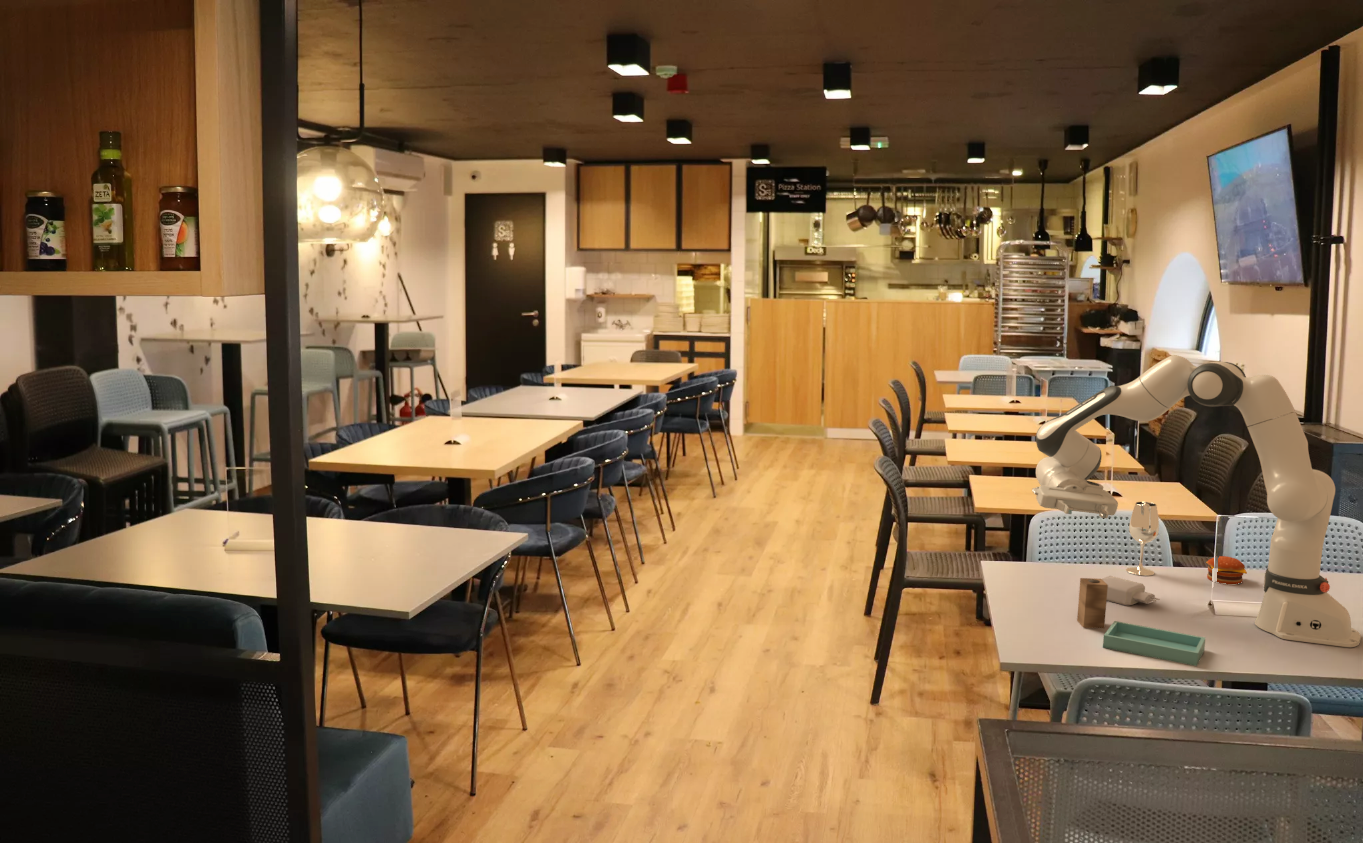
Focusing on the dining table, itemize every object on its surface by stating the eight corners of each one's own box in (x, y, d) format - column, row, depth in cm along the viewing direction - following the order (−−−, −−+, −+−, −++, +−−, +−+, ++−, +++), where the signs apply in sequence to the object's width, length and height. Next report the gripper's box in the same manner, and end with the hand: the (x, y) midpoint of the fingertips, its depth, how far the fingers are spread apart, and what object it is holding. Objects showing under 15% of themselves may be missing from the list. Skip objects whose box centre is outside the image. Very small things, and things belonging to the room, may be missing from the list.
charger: (1148, 613, 285) (1093, 598, 296) (1165, 606, 291) (1110, 591, 302) (1150, 595, 284) (1094, 581, 295) (1166, 588, 290) (1112, 574, 301)
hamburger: (1237, 576, 318) (1239, 554, 317) (1247, 586, 308) (1249, 563, 307) (1201, 573, 319) (1204, 551, 318) (1210, 584, 310) (1212, 561, 309)
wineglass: (1119, 569, 322) (1125, 502, 319) (1139, 567, 325) (1145, 499, 322) (1140, 577, 315) (1146, 508, 312) (1161, 574, 318) (1167, 505, 315)
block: (1097, 621, 277) (1100, 578, 275) (1104, 628, 272) (1107, 584, 270) (1077, 620, 277) (1080, 577, 276) (1083, 627, 272) (1086, 583, 271)
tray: (1204, 650, 259) (1205, 637, 258) (1196, 666, 249) (1197, 653, 248) (1113, 632, 269) (1114, 620, 269) (1102, 647, 259) (1103, 635, 259)
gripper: (1032, 476, 294) (1050, 497, 281) (1107, 484, 295) (1128, 506, 282) (1026, 498, 296) (1044, 520, 283) (1101, 506, 298) (1122, 529, 285)
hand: (1087, 513), depth 283 cm, fingers open, 8 cm apart
